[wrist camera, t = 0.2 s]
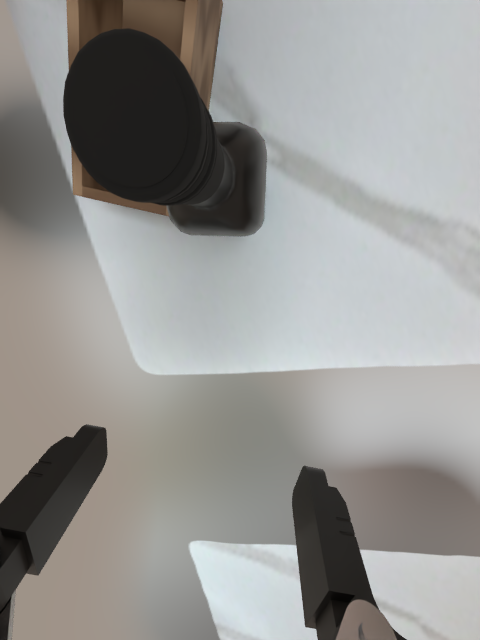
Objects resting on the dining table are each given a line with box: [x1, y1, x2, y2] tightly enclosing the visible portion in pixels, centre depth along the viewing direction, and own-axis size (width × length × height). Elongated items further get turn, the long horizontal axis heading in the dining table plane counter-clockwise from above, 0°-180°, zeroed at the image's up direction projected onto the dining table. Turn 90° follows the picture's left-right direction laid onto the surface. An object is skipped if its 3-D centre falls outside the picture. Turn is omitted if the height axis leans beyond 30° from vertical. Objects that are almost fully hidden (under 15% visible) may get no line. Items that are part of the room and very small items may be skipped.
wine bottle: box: [63, 28, 267, 236], centre depth 19 cm, size 6×6×30 cm
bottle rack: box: [67, 0, 223, 216], centre depth 27 cm, size 21×11×8 cm, turn 168°
